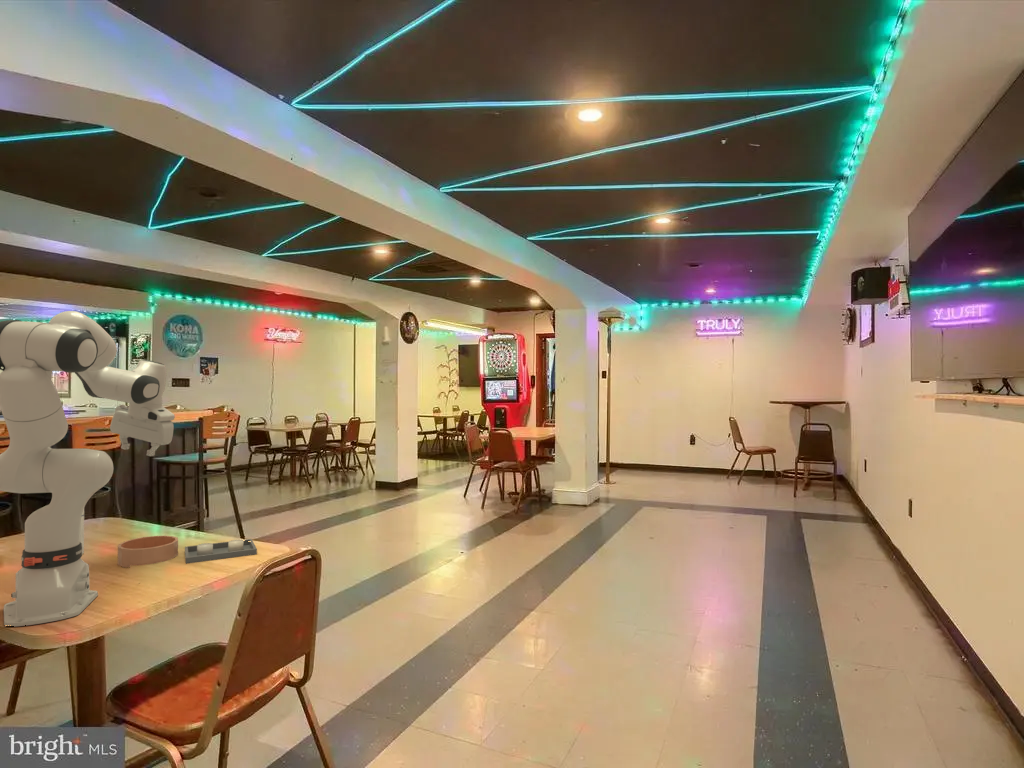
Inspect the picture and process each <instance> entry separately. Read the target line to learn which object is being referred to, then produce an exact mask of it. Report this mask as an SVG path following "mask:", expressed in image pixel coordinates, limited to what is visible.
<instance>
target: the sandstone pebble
mask: <svg viewBox="0 0 1024 768" xmlns="http://www.w3.org/2000/svg"><path fill="white" fill-rule="evenodd" d="M243 540H244V539H233V540H229V541H227V542H228V552H232V551H239V550H243V545H244V541H243Z"/></svg>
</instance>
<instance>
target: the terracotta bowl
mask: <svg viewBox="0 0 1024 768" xmlns="http://www.w3.org/2000/svg"><path fill="white" fill-rule="evenodd" d="M178 549H179V538H178V537H177V536H173V535H151V536H143V537H137V538H132V539H129V540H126V541H123V542H120V543H118V546H117V566H119V565H120V566H119V567H121V566H122V567H121V568H127V567H129V568H131V566H144V565H152V564H153V565H154V564H158V563H161V562H166V561H169V560H172V559H174V558H176V557H177V556H178V555H179V550H178Z"/></svg>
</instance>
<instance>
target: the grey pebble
mask: <svg viewBox="0 0 1024 768" xmlns="http://www.w3.org/2000/svg"><path fill="white" fill-rule="evenodd" d="M208 554H213V544H212V543H211V542H206V543H205V542H204V543H201V544H200V543H199V544H198V545H197V556H200V555H208Z"/></svg>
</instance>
